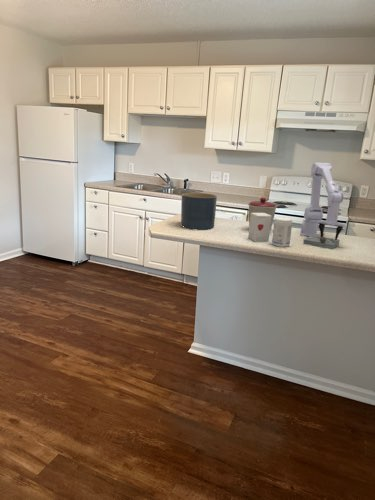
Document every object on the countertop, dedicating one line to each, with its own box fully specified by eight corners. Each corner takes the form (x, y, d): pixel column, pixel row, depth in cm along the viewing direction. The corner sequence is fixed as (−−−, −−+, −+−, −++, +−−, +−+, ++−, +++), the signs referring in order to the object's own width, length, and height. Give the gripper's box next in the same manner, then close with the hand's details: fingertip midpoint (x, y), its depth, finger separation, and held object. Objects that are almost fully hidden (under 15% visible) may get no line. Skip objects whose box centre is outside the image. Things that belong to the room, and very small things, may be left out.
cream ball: (317, 237, 214) (318, 231, 214) (319, 236, 217) (320, 230, 216) (323, 237, 213) (324, 232, 212) (324, 237, 215) (325, 231, 214)
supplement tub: (284, 242, 209) (287, 216, 205) (292, 247, 200) (296, 220, 196) (268, 242, 206) (271, 216, 202) (276, 247, 197) (279, 220, 193)
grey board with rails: (303, 243, 208) (303, 238, 207) (310, 238, 220) (311, 233, 219) (332, 249, 199) (333, 243, 198) (339, 243, 211) (339, 238, 210)
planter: (175, 223, 243) (176, 192, 238) (204, 222, 253) (206, 192, 247) (189, 231, 224) (190, 198, 219) (220, 229, 233) (223, 197, 228)
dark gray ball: (318, 242, 202) (319, 236, 201) (320, 241, 205) (321, 235, 204) (324, 243, 200) (325, 237, 199) (326, 242, 203) (327, 236, 202)
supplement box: (254, 241, 207) (257, 215, 203) (247, 237, 215) (250, 212, 211) (269, 241, 209) (272, 215, 205) (262, 237, 217) (264, 212, 213)
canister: (272, 228, 243) (276, 196, 237) (276, 234, 226) (280, 200, 220) (244, 226, 245) (247, 194, 239) (246, 232, 227) (249, 198, 222)
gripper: (317, 213, 203) (313, 237, 207) (344, 217, 196) (340, 242, 199) (320, 211, 209) (317, 235, 213) (347, 215, 201) (343, 239, 205)
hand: (328, 238), depth 206 cm, fingers open, 7 cm apart
